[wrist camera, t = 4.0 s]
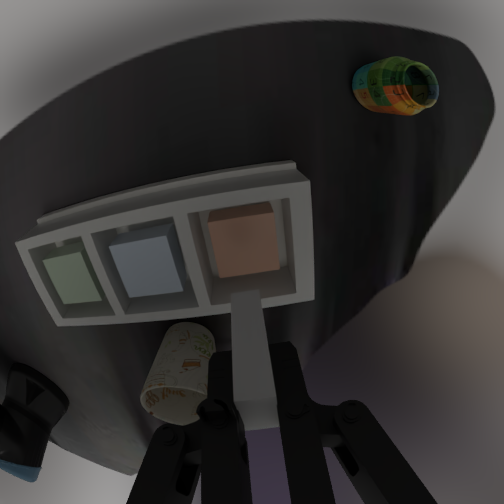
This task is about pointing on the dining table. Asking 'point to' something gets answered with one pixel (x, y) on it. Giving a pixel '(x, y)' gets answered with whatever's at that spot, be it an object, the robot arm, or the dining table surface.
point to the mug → (179, 374)
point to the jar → (395, 86)
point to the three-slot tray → (189, 240)
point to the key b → (149, 261)
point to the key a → (73, 274)
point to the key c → (244, 240)
